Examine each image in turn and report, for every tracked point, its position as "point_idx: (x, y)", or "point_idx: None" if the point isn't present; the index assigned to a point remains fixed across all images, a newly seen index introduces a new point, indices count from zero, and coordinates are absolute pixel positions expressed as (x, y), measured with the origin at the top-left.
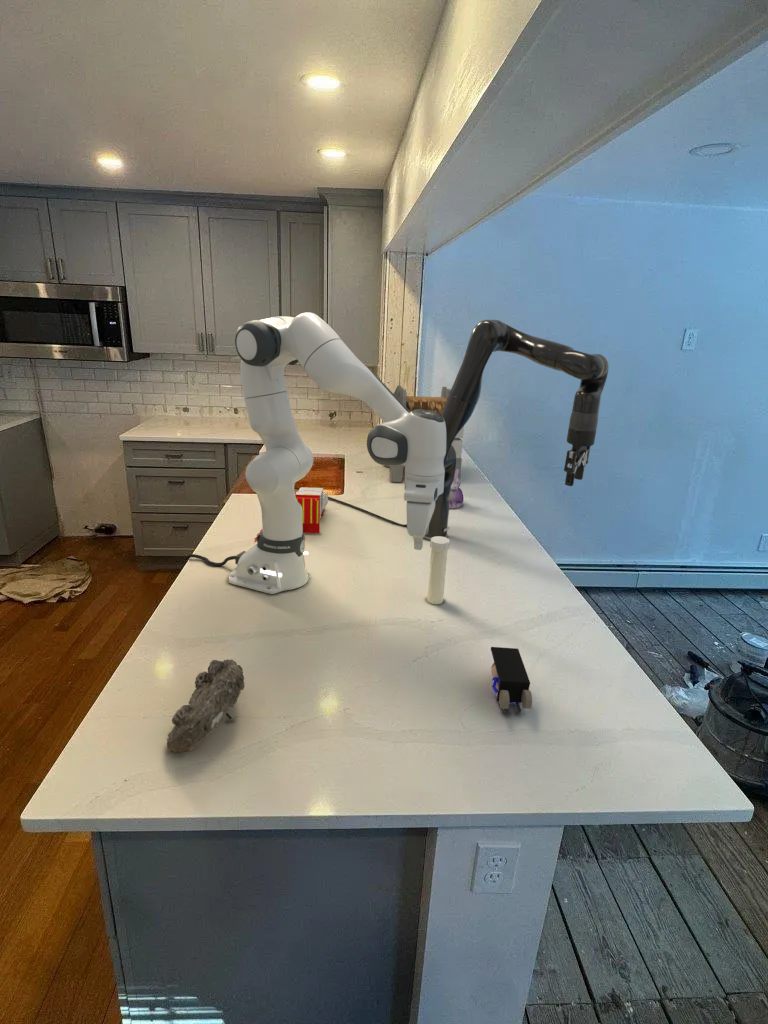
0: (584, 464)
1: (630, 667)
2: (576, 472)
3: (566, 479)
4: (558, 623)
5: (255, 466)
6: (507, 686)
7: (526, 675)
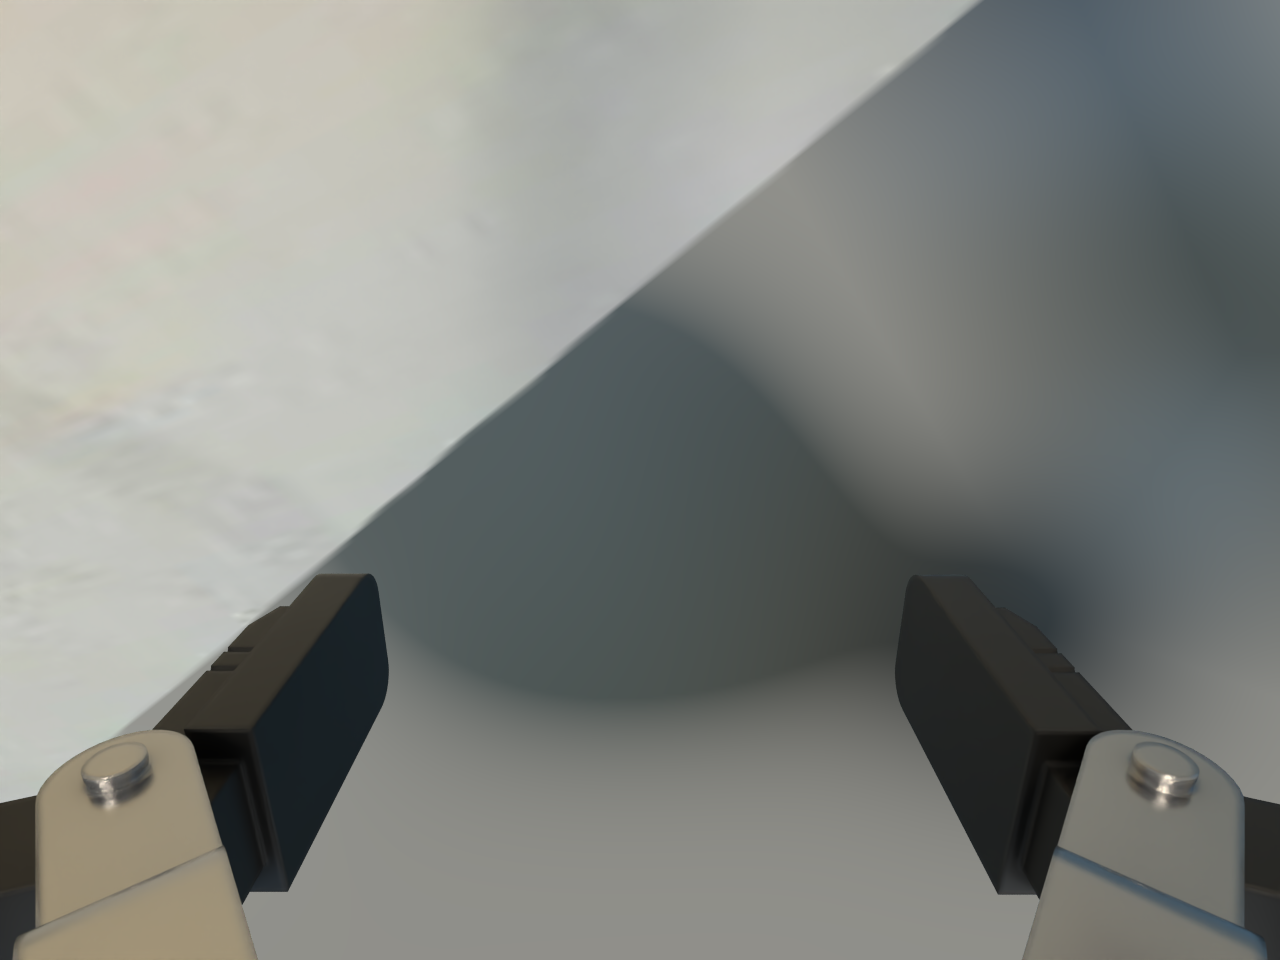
0: None
1: None
2: (962, 661)
3: (217, 662)
4: (112, 508)
5: None
6: None
7: None
